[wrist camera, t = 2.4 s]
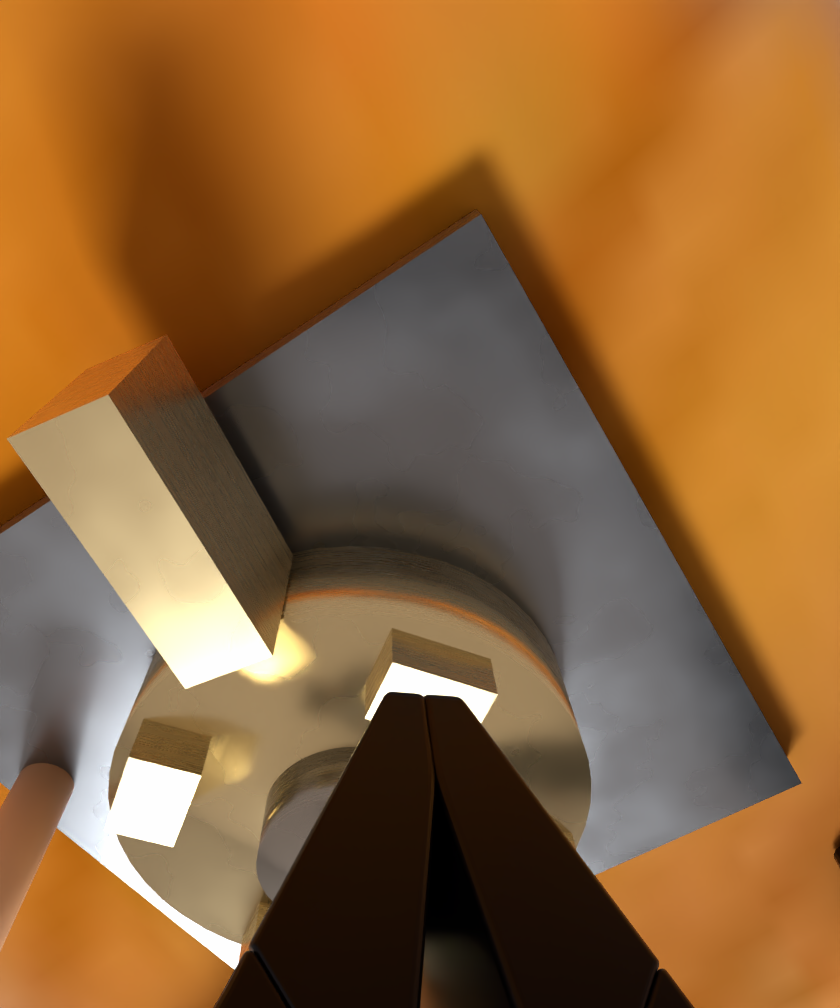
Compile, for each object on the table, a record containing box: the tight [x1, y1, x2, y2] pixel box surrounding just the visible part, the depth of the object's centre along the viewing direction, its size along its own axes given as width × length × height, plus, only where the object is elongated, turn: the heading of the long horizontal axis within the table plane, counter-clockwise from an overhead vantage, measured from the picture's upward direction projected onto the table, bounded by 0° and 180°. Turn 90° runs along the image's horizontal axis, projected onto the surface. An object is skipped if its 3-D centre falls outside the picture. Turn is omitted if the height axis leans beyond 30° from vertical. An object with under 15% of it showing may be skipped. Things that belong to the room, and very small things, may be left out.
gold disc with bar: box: [7, 334, 591, 963], centre depth 19 cm, size 18×12×5 cm, turn 22°
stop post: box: [0, 763, 74, 951], centre depth 21 cm, size 2×2×6 cm
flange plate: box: [0, 209, 801, 970], centre depth 23 cm, size 20×20×1 cm
